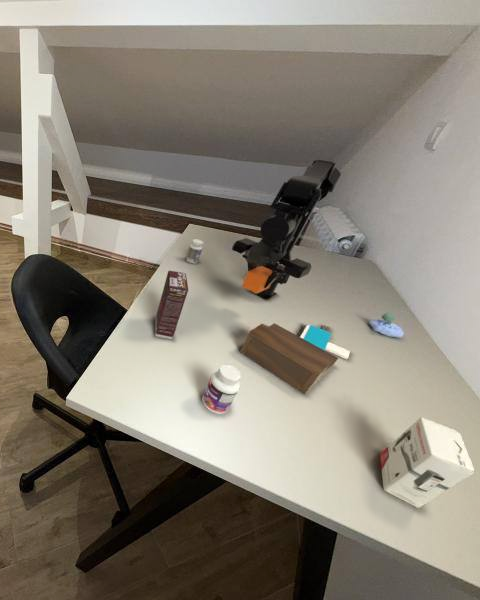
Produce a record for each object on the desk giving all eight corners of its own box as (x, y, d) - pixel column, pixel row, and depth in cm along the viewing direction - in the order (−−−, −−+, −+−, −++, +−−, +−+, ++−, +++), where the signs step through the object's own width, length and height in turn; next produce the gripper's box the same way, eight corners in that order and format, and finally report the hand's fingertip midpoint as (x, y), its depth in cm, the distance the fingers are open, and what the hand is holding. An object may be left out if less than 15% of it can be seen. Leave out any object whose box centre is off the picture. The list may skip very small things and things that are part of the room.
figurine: (372, 333, 91) (387, 315, 87) (364, 320, 96) (377, 303, 93) (405, 341, 89) (421, 323, 85) (395, 328, 94) (410, 310, 90)
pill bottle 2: (197, 393, 68) (211, 361, 62) (220, 393, 68) (236, 361, 63) (207, 415, 63) (223, 382, 58) (232, 414, 64) (250, 382, 58)
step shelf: (269, 331, 88) (280, 311, 84) (332, 366, 78) (347, 345, 74) (239, 351, 80) (249, 331, 76) (304, 394, 70) (320, 373, 66)
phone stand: (341, 376, 75) (345, 371, 74) (288, 350, 82) (291, 346, 81) (352, 339, 88) (356, 335, 87) (306, 320, 94) (308, 315, 93)
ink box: (377, 452, 59) (420, 414, 52) (410, 467, 57) (459, 430, 50) (382, 491, 53) (431, 453, 46) (419, 510, 51) (476, 473, 44)
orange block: (254, 280, 92) (261, 265, 89) (269, 287, 89) (276, 272, 86) (241, 286, 88) (248, 270, 85) (256, 294, 85) (263, 278, 82)
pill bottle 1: (196, 264, 120) (202, 244, 116) (184, 261, 122) (190, 241, 117) (199, 260, 124) (205, 241, 119) (187, 257, 126) (193, 237, 121)
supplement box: (173, 340, 82) (189, 289, 73) (154, 336, 83) (168, 286, 74) (172, 320, 89) (186, 272, 80) (155, 317, 90) (167, 269, 81)
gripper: (230, 223, 81) (211, 275, 90) (304, 252, 69) (274, 308, 78) (253, 218, 87) (233, 267, 95) (326, 243, 74) (295, 297, 83)
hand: (257, 283), depth 88 cm, fingers closed on orange block, 4 cm apart
